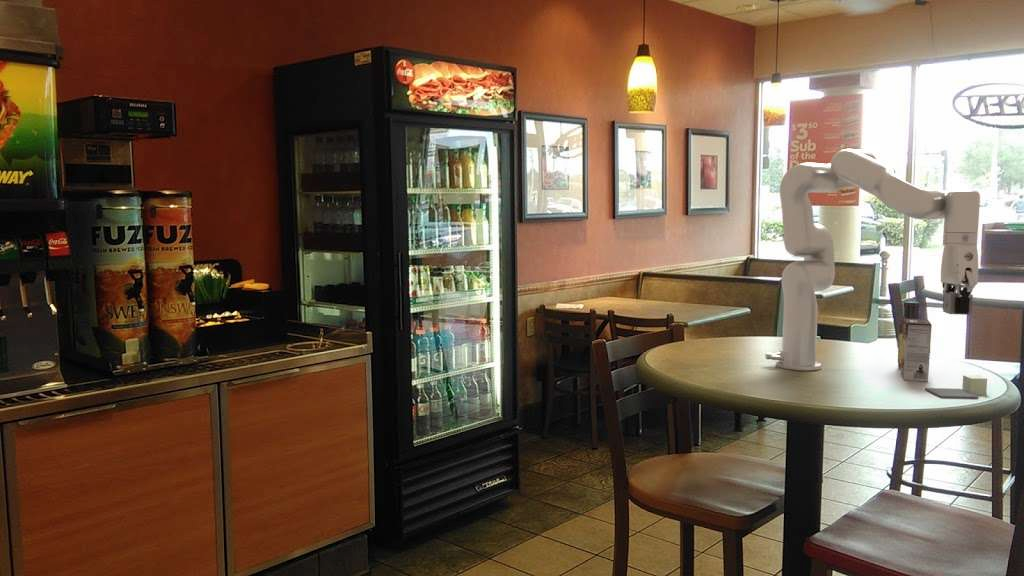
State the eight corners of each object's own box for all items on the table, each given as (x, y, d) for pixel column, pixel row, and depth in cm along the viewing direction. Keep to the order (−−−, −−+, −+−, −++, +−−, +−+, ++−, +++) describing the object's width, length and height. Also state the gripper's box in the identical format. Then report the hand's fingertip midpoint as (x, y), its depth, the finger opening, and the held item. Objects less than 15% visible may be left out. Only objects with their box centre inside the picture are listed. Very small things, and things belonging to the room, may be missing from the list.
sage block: (970, 393, 204) (971, 378, 204) (962, 390, 208) (963, 375, 208) (986, 394, 204) (987, 378, 204) (978, 390, 208) (979, 375, 208)
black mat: (941, 398, 199) (941, 396, 199) (924, 389, 208) (924, 388, 208) (978, 398, 199) (978, 396, 198) (960, 390, 207) (960, 388, 207)
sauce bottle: (923, 371, 232) (927, 303, 230) (900, 370, 233) (904, 303, 231) (916, 367, 238) (920, 301, 236) (894, 366, 240) (897, 300, 238)
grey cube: (971, 314, 199) (972, 294, 198) (949, 314, 200) (950, 294, 199) (964, 312, 203) (965, 292, 203) (943, 311, 204) (944, 292, 204)
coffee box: (899, 373, 229) (902, 318, 227) (924, 375, 226) (927, 319, 225) (903, 380, 220) (906, 322, 218) (929, 382, 218) (932, 323, 216)
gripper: (994, 241, 191) (989, 316, 193) (958, 238, 208) (953, 307, 210) (961, 241, 191) (957, 316, 193) (928, 238, 208) (924, 307, 210)
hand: (955, 310), depth 201 cm, fingers closed on grey cube, 5 cm apart
